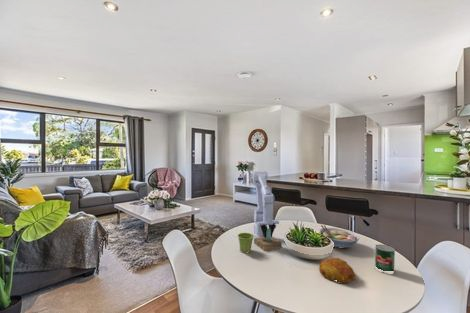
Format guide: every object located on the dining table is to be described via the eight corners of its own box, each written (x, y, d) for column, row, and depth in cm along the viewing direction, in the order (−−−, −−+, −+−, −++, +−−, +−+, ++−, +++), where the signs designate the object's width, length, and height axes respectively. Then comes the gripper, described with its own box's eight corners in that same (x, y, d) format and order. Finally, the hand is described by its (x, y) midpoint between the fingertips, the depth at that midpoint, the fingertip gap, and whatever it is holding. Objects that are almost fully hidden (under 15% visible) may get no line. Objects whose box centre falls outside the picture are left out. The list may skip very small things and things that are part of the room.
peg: (263, 241, 138) (264, 228, 138) (269, 240, 140) (269, 227, 139) (266, 243, 135) (266, 230, 135) (271, 242, 136) (272, 229, 136)
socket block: (254, 243, 141) (254, 238, 141) (270, 240, 145) (270, 235, 145) (264, 250, 130) (264, 245, 130) (281, 247, 134) (281, 242, 134)
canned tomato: (390, 267, 113) (391, 245, 113) (397, 275, 106) (397, 252, 106) (372, 264, 115) (373, 243, 115) (377, 272, 108) (378, 249, 108)
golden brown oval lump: (314, 275, 109) (312, 258, 109) (339, 265, 114) (337, 250, 114) (337, 291, 95) (335, 273, 95) (364, 280, 101) (362, 262, 100)
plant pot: (253, 247, 134) (254, 233, 134) (253, 254, 124) (253, 239, 124) (238, 246, 135) (238, 232, 135) (236, 253, 125) (236, 238, 125)
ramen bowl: (366, 256, 125) (367, 241, 125) (323, 252, 129) (323, 238, 129) (351, 239, 150) (352, 227, 149) (315, 236, 154) (315, 224, 153)
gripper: (261, 217, 131) (260, 240, 131) (282, 214, 136) (281, 237, 137) (255, 214, 137) (254, 236, 137) (275, 212, 143) (274, 233, 143)
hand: (267, 236), depth 137 cm, fingers closed on peg, 4 cm apart
